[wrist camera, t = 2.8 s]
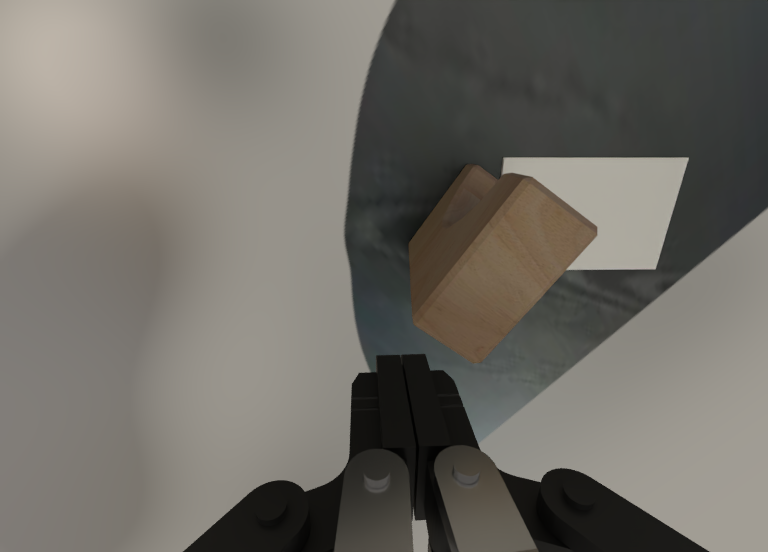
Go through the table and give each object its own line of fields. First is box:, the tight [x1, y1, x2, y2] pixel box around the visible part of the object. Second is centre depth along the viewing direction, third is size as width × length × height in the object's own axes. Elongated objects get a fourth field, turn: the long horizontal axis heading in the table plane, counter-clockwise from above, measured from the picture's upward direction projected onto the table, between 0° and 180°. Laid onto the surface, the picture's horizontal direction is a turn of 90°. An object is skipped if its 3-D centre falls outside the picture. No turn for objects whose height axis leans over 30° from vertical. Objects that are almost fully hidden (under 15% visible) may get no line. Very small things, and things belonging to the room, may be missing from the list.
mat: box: [501, 157, 689, 270], centre depth 41 cm, size 20×12×1 cm, turn 90°
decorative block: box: [409, 164, 597, 363], centre depth 31 cm, size 11×6×20 cm, turn 144°
